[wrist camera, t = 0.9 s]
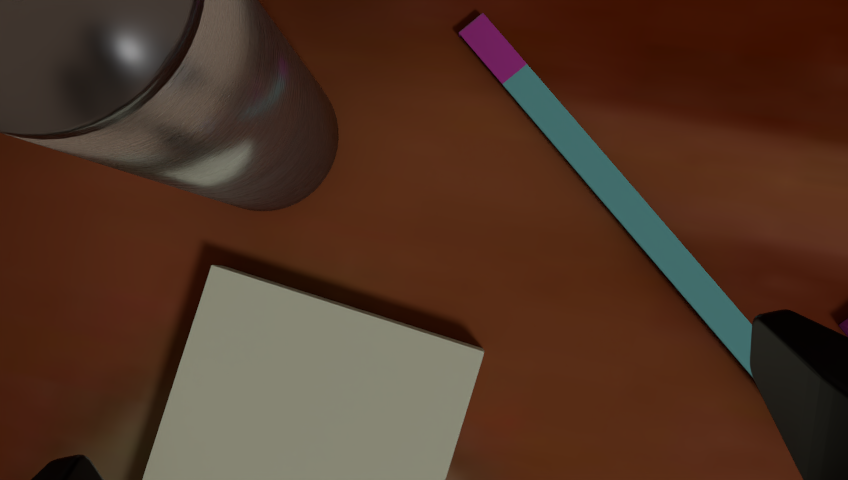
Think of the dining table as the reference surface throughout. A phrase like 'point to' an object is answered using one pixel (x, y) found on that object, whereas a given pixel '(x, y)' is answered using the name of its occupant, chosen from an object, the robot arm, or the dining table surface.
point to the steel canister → (169, 95)
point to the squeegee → (613, 189)
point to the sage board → (309, 391)
